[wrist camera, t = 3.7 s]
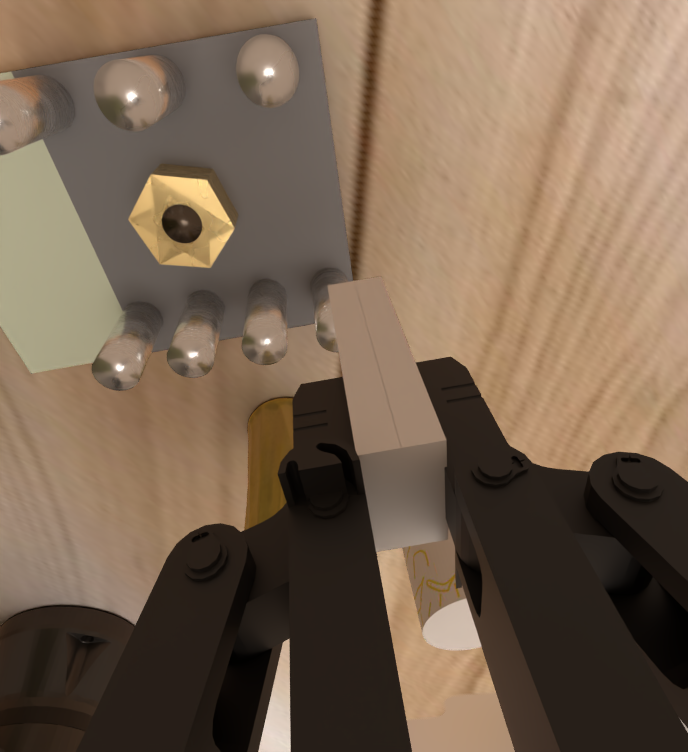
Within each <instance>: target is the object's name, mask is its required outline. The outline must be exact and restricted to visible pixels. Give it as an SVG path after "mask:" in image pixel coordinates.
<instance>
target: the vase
mask: <svg viewBox="0 0 688 752" xmlns="http://www.w3.org/2000/svg"><path fill="white" fill-rule="evenodd" d="M292 399H293V398H278V399H274V400H271V401H268V402H266V403H264V404H262V405H261V406H259V407H258V408H257V409H256V410H255V411H254V412H253V414H252V415H251V416H250V418H249V421H248V430H247V431H248V491H247V507H246V517H245V530H247V529H249V528H251V527H253V526H255V525H257V524H259V523H261V522H263V521H265V520H267V519H268V518H270V517H272V516H274V515H275V514H276V513H277V512H278V511H279V510H280V509H282V508H283V506H284V505H285V504H286V499H285V496H284V493H283V490H282V487H281V484H280V481H279V477H278V470H279V466H280V462H281V461H282V460H283V458H284V457H285V456H286V455H287V453H288V452H289V451H290V450H292V449H293V405H292Z"/></svg>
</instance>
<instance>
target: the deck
mask: <svg viewBox="0 0 688 752" xmlns="http://www.w3.org/2000/svg"><path fill="white" fill-rule="evenodd" d="M261 34H269V35H274V36H277V37H279V38H281V39H282V40H284V41H285V42H286V43H287V44H288V45H289V47H290V48H291V49H292V51H293V53H294V54H295V57H296V59H297V62H298V66H299V82H298V86H297V89H296V91H295V93H294V95H293V96H292V97H291V99H290V100H289V101H287V102H286V103H285V104H283V105H281V106H279V107H275V108H266V107H262V106H259V105H257V104H255V103H254V102H252V101H251V100H250V99H249V98H248V97H247V96H246V95H245V94H244V92H243V91H242V89H241V87H240V85H239V82H238V79H237V73H236V63H237V58H238V54H239V52H240V50H241V48H242V46H243V45H244V44H245V43H246V42H247V41H248V40H249V39H251V38H252V37H254V36H257V35H261ZM148 55H159V56H163V57H165V58H167V59H169V60H170V61H171V62H173V63H174V64H175V65H176V66H177V68H178V69H179V70H180V72H181V74H182V76H183V79H184V82H185V96H184V100H183V102H182V103H181V105H180V106H179V107H178V108H177V109H175V110H174V111H172V112H171V113H169V114H168V115H167V116H165V117H164V118H162V119H161V120H159V121H158V122H156V123H155V124H153V125H152V126H150V127H149V128H147V129H145V130H142V131H136V132H134V131H127V130H123V129H121V128H119V127H117V126H115V125H114V124H113V123H111V122H110V121H109V120H108V119H107V118H106V117H105V116H104V115H103V113H102V112H101V110H100V109H99V107H98V105H97V102H96V99H95V95H94V79H95V76H96V74H97V72H98V70H99V69H100V67H101V66H103V65H104V64H105V63H107V62H109V61H112V60H118V59H125V58H133V57H141V56H148ZM34 75H45V76H48V77H51V78H53V79H55V80H56V81H58V82H59V83H61V84H62V85H63V86H64V87H65V88H66V90H67V91H68V92H69V94H70V96H71V97H72V100H73V102H74V106H75V118H74V121H73V123H72V124H71V126H69V127H68V128H67V129H65V130H63V131H60V132H58V133H56V134H53V135H51V136H49V137H46V138H44V139H41V140H39V141H37V142H34V143H32V144H30V145H27V146H25V147H23V148H20V149H18V150H15V151H13V152H11V153H8V154H5V155H0V327H1V328H2V330H3V331H4V333H5V334H6V336H7V337H8V339H9V340H10V342H11V343H12V345H13V347H14V348H15V350H16V351H17V353H18V354H19V356H20V357H21V359H22V360H23V362H24V364H25V365H26V367H27V368H28V370H29V371H30V373H31V374H32V373H38V372H43V371H49V370H55V369H60V368H66V367H72V366H78V365H83V364H89V363H93V362H94V360H95V359H96V357H97V355H98V354H99V352H100V350H101V348H102V347H103V345H104V343H105V341H106V340H107V338H108V336H109V335H110V333H111V331H112V329H113V328H114V326H115V324H116V323H117V321H118V319H119V317H120V316H121V314H122V312H123V311H124V309H125V307H126V306H127V305H129V304H130V303H133V302H137V301H141V302H147V303H149V304H151V305H153V306H155V307H156V308H157V309H158V310H159V311H160V313H161V315H162V318H163V325H162V327H161V330H160V332H159V334H158V337H157V339H156V342H155V344H154V346H153V349H152V351H151V352H157V351H163V350H168V349H169V347H170V344H171V342H172V339H173V336H174V333H175V331H176V328H177V325H178V322H179V320H180V317H181V314H182V311H183V309H184V306H185V303H186V301H187V298H188V297H189V296H190V295H191V294H192V293H194V292H196V291H199V290H207V291H211V292H213V293H215V294H217V295H218V296H219V297H220V298H221V299H222V301H223V303H224V306H225V312H224V317H223V321H222V326H221V331H220V336H219V340H225V339H231V338H236V337H242V336H243V331H244V323H245V316H246V308H247V301H248V293H249V290H250V288H251V286H252V285H253V284H254V283H255V282H257V281H259V280H262V279H271V280H275V281H277V282H278V283H280V284H281V285H282V286H283V287H284V289H285V291H286V295H287V328H293V327H299V326H304V325H310V324H315V319H314V310H313V301H312V292H311V281H312V279H313V277H314V275H315V274H316V273H317V272H319V271H320V270H322V269H325V268H335V269H338V270H340V271H342V272H343V273H344V274H345V275H346V277H347V279H348V282H350V281H353V277H352V270H351V263H350V256H349V249H348V242H347V234H346V227H345V220H344V213H343V206H342V199H341V192H340V184H339V177H338V170H337V163H336V156H335V149H334V142H333V134H332V127H331V120H330V113H329V106H328V99H327V92H326V85H325V77H324V70H323V63H322V56H321V49H320V42H319V35H318V27H317V20H316V18H315V19H309V20H304V21H298V22H292V23H286V24H281V25H275V26H269V27H263V28H258V29H252V30H246V31H240V32H235V33H229V34H223V35H217V36H212V37H206V38H200V39H194V40H189V41H183V42H177V43H171V44H166V45H160V46H154V47H148V48H143V49H137V50H131V51H126V52H120V53H114V54H108V55H103V56H97V57H91V58H85V59H80V60H74V61H68V62H62V63H57V64H51V65H45V66H39V67H34V68H28V69H22V70H16V71H11V72H5V73H0V81H1V80H7V79H14V78H20V77H27V76H34ZM160 164H171V165H181V166H191V167H200V168H210V169H213V170H214V172H215V173H216V175H217V177H218V179H219V181H220V182H221V184H222V186H223V188H224V189H225V191H226V193H227V195H228V197H229V198H230V200H231V202H232V204H233V206H234V207H235V209H236V211H237V213H238V218H237V222H236V226H235V229H234V231H233V232H232V234H231V235H230V237H229V239H228V240H227V242H226V243H225V245H224V247H223V248H222V250H221V252H220V253H219V255H218V256H217V258H216V260H215V261H214V263H213V264H212V266H211V268H205V267H191V266H177V265H163V264H159V262H158V261H157V260H156V258H155V257H154V255H153V254H152V253H151V251H150V250H149V248H148V247H147V245H146V244H145V243H144V241H143V240H142V238H141V237H140V236H139V234H138V233H137V231H136V230H135V228H134V227H133V226H132V224H131V223H130V221H129V220H128V219H129V217H130V215H131V213H132V211H133V209H134V207H135V205H136V203H137V201H138V199H139V197H140V195H141V193H142V191H143V189H144V187H145V185H146V183H147V181H148V179H149V177H150V175H151V174H152V172H153V171H154V170H155V169H156V168H157V167H158V166H159V165H160ZM219 340H218V341H219Z"/></svg>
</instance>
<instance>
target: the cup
mask: <svg viewBox="0 0 688 752" xmlns="http://www.w3.org/2000/svg"><path fill="white" fill-rule="evenodd" d="M402 549H403V553H404V557H405V561H406V566H407V570H408V574H409V578H410V583H411V587H412V591H413V595H414V600H415V604H416V608H417V612H418V617H419V621H420V625H421V629H422V634H423V637H424V639H425V640H426V642H427V643H429V644H430V645H432V646H434V647H436V648H440V649H445V650H469V649H475V648H479V647H482V646H481V643H480V640H479V637H478V634H477V630H476V627H475V624H474V621H473V618H472V615H471V612H470V608H469V605H468V602H467V599H466V596H465V593H464V590H463V586H462V588H457V589H456V581H455V545H454V542H453V539H452V536H451V533H450V530H449V527H448V540H443V541H437V542H431V543H426V544H420V545H414V546H408V547H403V548H402Z"/></svg>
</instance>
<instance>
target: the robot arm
mask: <svg viewBox="0 0 688 752" xmlns="http://www.w3.org/2000/svg"><path fill="white" fill-rule="evenodd" d="M327 286H328V291H329V297H330V303H331V309H332V315H333V321H334V327H335V333H336V339H337V345H338V350H339V356H340V362H341V368H342V374H343V377H340V378H334V379H328V380H323V381H317V382H311V383H305V384H301V385H300V387H299V389H298V390H297V392H296V394H295V396H294V398H293V399H292V405H293V449H292V450H290V451H289V452H288V453H287V455H286V456H285V457H284V458H283V460H282V461H281V462H280V466H279V470H278V477H279V481H280V484H281V487H282V490H283V493H284V496H285V499H286V504H285V505H284V506H283V508H282V509H280V510H279V511H278V512H277V513H276V514H275V515H274V516H272V517H270V518H268V519H267V520H265V521H263V522H261V523H259V524H257V525H255V526H253V527H251V528H249V529H247V530H244V531H242V532H240V531H239V530H237V529H236V528H235V527H234V526H230V525H225V524H221V523H220V524H212V525H205V526H203V527H201V528H199V529H197V530H194V531H192V532H190V533H189V534H188V535H187V536H185V537H184V538H183V539H182V540H181V541H179V542H178V543H177V544H176V546H175V547H174V549H173V550H172V552H171V553H170V555H169V556H168V557H167V560H166V562H165V564H164V566H163V568H162V570H161V572H160V574H159V577H158V579H157V581H156V583H155V585H154V587H153V589H152V591H151V594H150V596H149V598H148V600H147V602H146V604H145V606H144V608H143V611H142V613H141V615H140V617H139V619H138V621H137V623H136V625H135V627H134V626H132V625H131V624H130V623H128V622H127V621H125V620H123V619H121V618H119V617H117V616H114V615H112V614H109V613H106V612H102V611H98V610H93V609H88V608H80V607H47V608H40V609H35V610H31V611H27V612H24V613H21V614H18V615H16V616H14V617H12V618H10V619H9V620H7V621H6V622H5V623H4V624H3V625H2V626H1V627H0V752H258V750H259V745H260V741H261V737H262V732H263V728H264V723H265V719H266V714H267V710H268V706H269V701H270V697H271V692H272V688H273V683H274V679H275V675H276V670H277V666H278V661H279V657H280V652H281V648H282V644H283V642H284V641H285V640H287V639H289V638H290V721H291V752H412V749H411V743H410V738H409V733H408V727H407V721H406V716H405V710H404V704H403V699H402V693H401V688H400V682H399V677H398V671H397V665H396V660H395V654H394V649H393V643H392V638H391V632H390V626H389V621H388V615H387V610H386V604H385V599H384V593H383V587H382V582H381V576H380V571H379V565H378V560H377V554H376V552H380V551H385V550H391V549H397V548H403V547H408V546H414V545H420V544H426V543H431V542H437V541H443V540H448V527H449V530H450V533H451V536H452V539H453V542H454V545H455V581H456V589H457V588H462V586H463V590H464V593H465V596H466V599H467V602H468V605H469V608H470V612H471V615H472V618H473V621H474V624H475V627H476V630H477V634H478V637H479V640H480V643H481V646H482V649H483V652H484V656H485V659H486V662H487V665H488V668H489V671H490V674H491V678H492V681H493V684H494V687H495V690H496V693H497V696H498V699H499V703H500V706H501V709H502V712H503V715H504V718H505V721H506V725H507V728H508V731H509V734H510V737H511V740H512V743H513V746H514V750H515V752H688V733H687V731H686V730H685V727H684V726H683V724H682V723H681V721H680V719H681V720H682V722H683V723H684V724H685V725H686V726H687V728H688V482H687V481H686V480H685V479H683V478H682V477H681V476H679V475H678V474H677V473H676V472H674V471H673V470H672V469H670V468H669V467H667V466H666V465H664V464H662V463H660V462H659V461H657V460H655V459H653V458H650V457H647V456H644V455H641V454H637V453H627V452H616V453H611V454H606V455H603V456H602V457H600V458H599V459H597V460H596V461H594V462H593V464H592V466H591V469H590V471H589V472H586V471H574V470H562V469H553V468H547V467H543V466H540V465H537V464H534V463H532V462H531V461H530V460H529V459H528V458H527V456H526V455H525V454H523V453H522V452H520V451H518V450H516V449H514V448H513V447H510V446H509V444H508V443H507V441H506V439H505V438H504V436H503V434H502V432H501V430H500V428H499V427H498V425H497V423H496V421H495V419H494V417H493V415H492V414H491V412H490V410H489V408H488V406H487V404H486V403H485V401H484V399H483V398H482V397H481V393H480V392H479V390H478V388H477V386H476V385H475V382H474V381H473V379H472V377H471V375H470V373H469V371H468V370H467V368H466V367H465V366H463V365H462V364H460V363H459V362H458V361H456V360H455V359H453V358H452V357H446V358H441V359H435V360H429V361H423V362H418V363H416V362H415V360H414V357H413V355H412V352H411V350H410V347H409V345H408V342H407V340H406V337H405V335H404V332H403V330H402V327H401V325H400V322H399V320H398V317H397V315H396V312H395V310H394V307H393V305H392V302H391V300H390V297H389V295H388V292H387V290H386V287H385V285H384V282H383V280H382V277H381V276H379V277H373V278H367V279H362V280H356V281H350V282H345V283H339V284H333V285H327ZM679 718H680V719H679Z"/></svg>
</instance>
